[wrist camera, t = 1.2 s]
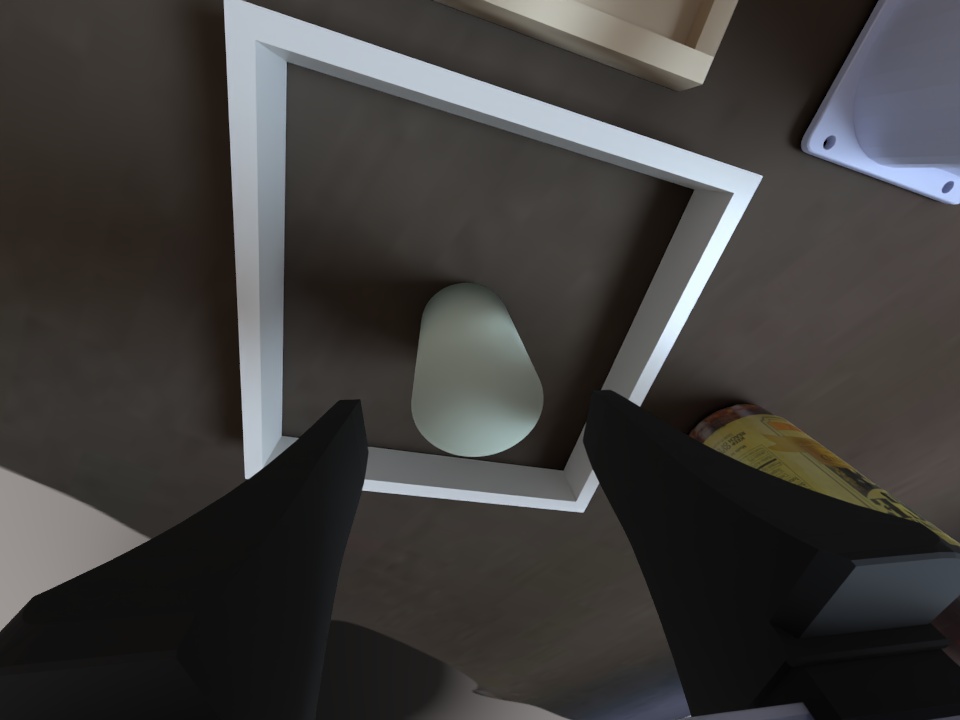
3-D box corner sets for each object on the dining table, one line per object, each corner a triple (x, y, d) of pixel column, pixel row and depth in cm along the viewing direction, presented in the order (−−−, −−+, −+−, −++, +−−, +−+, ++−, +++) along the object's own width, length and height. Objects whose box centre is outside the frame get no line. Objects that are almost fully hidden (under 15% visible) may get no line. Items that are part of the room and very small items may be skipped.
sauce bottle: (782, 440, 24) (1667, 1145, 7) (695, 486, 26) (1249, 1177, 8) (754, 375, 21) (2137, 1287, 4) (659, 431, 23) (1380, 1297, 5)
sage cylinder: (519, 293, 18) (562, 360, 12) (496, 370, 20) (521, 463, 13) (429, 273, 17) (424, 334, 11) (414, 356, 19) (401, 448, 13)
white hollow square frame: (718, 175, 16) (763, 176, 14) (570, 481, 24) (583, 512, 22) (261, 24, 12) (223, -6, 10) (266, 445, 20) (245, 478, 18)
